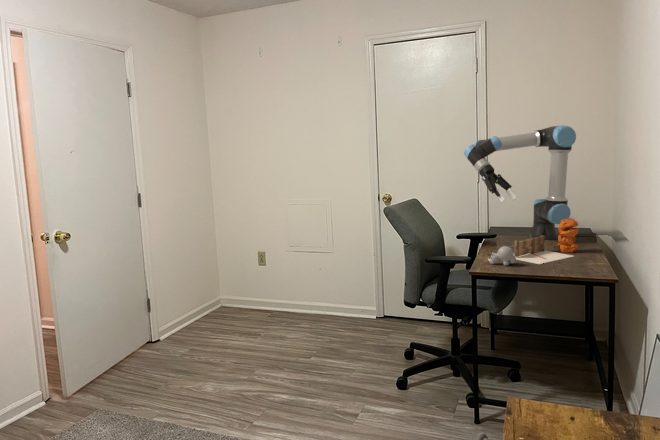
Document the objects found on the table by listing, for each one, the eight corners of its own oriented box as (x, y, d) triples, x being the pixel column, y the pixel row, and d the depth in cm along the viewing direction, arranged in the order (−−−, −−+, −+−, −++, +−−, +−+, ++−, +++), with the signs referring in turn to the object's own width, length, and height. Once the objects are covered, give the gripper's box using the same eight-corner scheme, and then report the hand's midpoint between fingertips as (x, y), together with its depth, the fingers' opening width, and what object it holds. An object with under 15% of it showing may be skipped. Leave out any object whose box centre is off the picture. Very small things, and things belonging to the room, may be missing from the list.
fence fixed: (541, 250, 262) (541, 235, 261) (545, 250, 260) (545, 235, 259) (528, 253, 255) (529, 237, 254) (532, 254, 254) (533, 238, 253)
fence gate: (528, 252, 255) (528, 237, 254) (532, 253, 253) (532, 237, 252) (513, 256, 247) (513, 240, 246) (517, 256, 246) (517, 241, 245)
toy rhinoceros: (492, 267, 241) (486, 251, 241) (517, 259, 236) (511, 242, 236) (491, 270, 234) (484, 253, 235) (516, 262, 229) (509, 245, 230)
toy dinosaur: (569, 254, 252) (570, 219, 249) (551, 251, 261) (552, 216, 259) (584, 252, 257) (585, 217, 254) (565, 248, 266) (566, 214, 264)
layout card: (501, 256, 252) (501, 255, 252) (535, 249, 266) (535, 248, 266) (539, 264, 234) (540, 263, 234) (574, 256, 247) (574, 255, 247)
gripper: (492, 172, 282) (517, 202, 272) (467, 174, 269) (492, 206, 259) (501, 162, 277) (526, 193, 267) (475, 164, 264) (501, 196, 254)
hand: (509, 199), depth 263 cm, fingers open, 9 cm apart
